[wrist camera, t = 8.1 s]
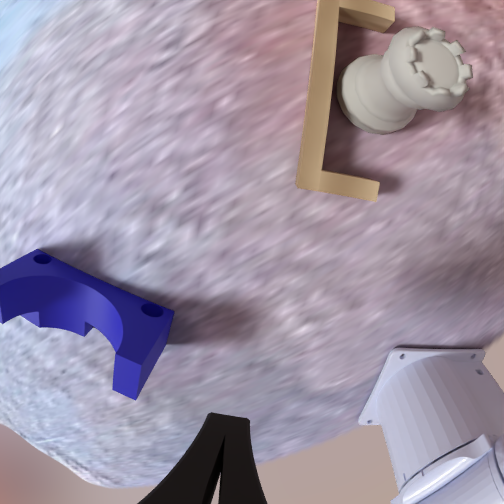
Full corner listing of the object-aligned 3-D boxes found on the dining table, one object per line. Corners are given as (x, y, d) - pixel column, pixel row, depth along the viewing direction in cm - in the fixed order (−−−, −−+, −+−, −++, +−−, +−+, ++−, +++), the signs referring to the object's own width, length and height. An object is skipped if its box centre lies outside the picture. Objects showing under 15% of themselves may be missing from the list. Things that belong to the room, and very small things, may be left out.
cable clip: (37, 296, 21) (-8, 330, 15) (38, 248, 19) (-15, 277, 14) (163, 357, 21) (133, 414, 15) (175, 309, 20) (141, 365, 14)
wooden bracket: (383, 19, 12) (394, 7, 11) (365, 196, 16) (376, 201, 14) (316, 4, 13) (320, -11, 11) (295, 183, 16) (297, 188, 14)
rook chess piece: (318, 79, 14) (350, 23, 7) (381, 49, 13) (446, -7, 6) (362, 149, 15) (428, 150, 8) (422, 115, 14) (510, 102, 7)
